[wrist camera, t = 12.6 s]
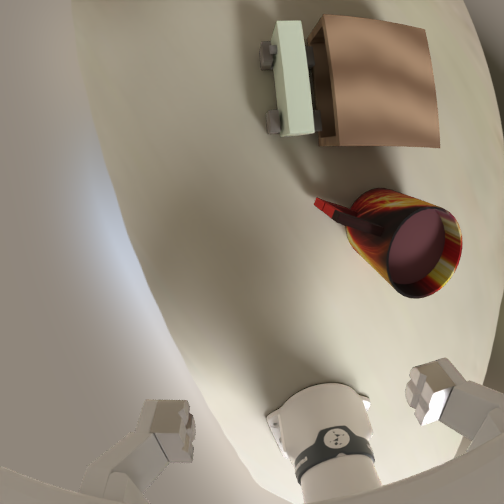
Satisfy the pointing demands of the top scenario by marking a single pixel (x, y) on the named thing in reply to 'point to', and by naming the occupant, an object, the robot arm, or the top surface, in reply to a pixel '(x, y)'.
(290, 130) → the door
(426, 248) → the mug
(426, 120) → the cabinet
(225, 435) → the top surface
